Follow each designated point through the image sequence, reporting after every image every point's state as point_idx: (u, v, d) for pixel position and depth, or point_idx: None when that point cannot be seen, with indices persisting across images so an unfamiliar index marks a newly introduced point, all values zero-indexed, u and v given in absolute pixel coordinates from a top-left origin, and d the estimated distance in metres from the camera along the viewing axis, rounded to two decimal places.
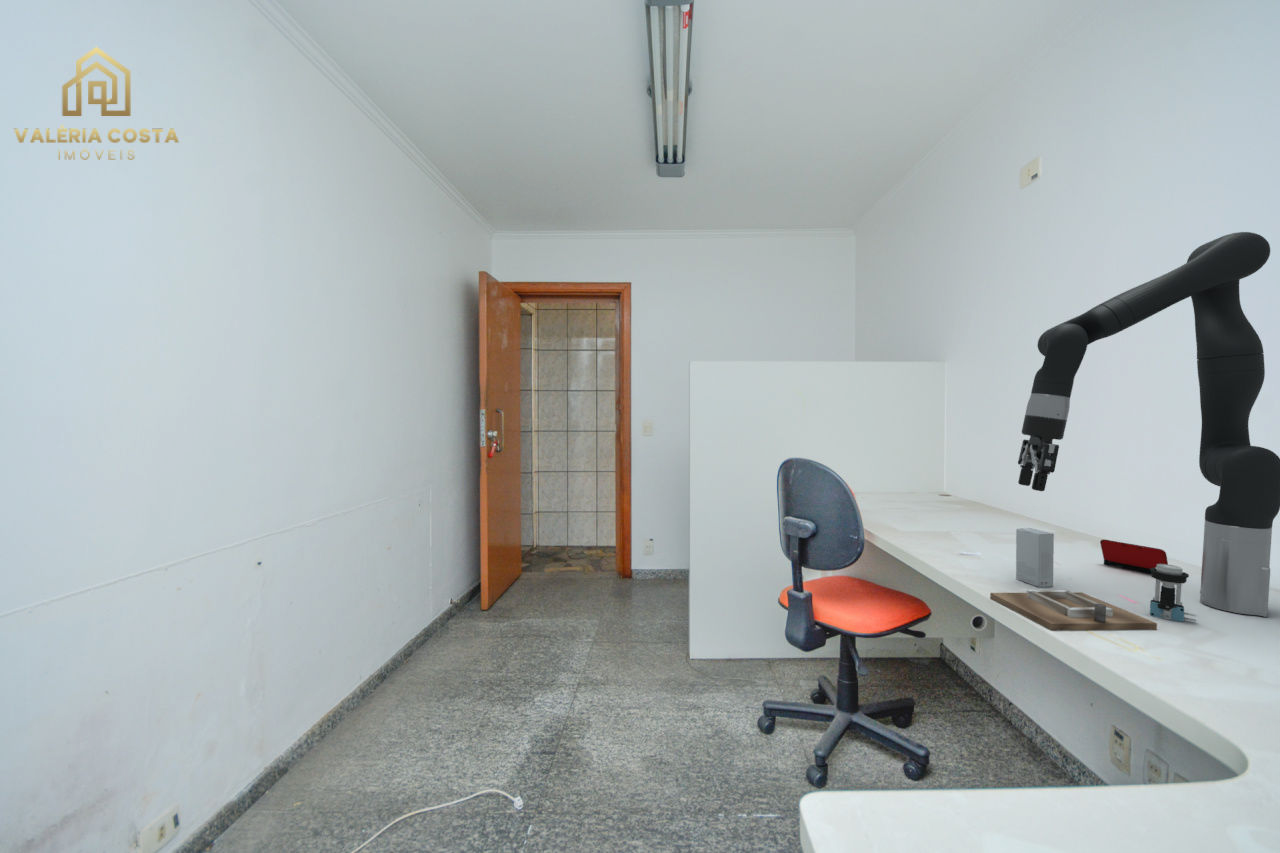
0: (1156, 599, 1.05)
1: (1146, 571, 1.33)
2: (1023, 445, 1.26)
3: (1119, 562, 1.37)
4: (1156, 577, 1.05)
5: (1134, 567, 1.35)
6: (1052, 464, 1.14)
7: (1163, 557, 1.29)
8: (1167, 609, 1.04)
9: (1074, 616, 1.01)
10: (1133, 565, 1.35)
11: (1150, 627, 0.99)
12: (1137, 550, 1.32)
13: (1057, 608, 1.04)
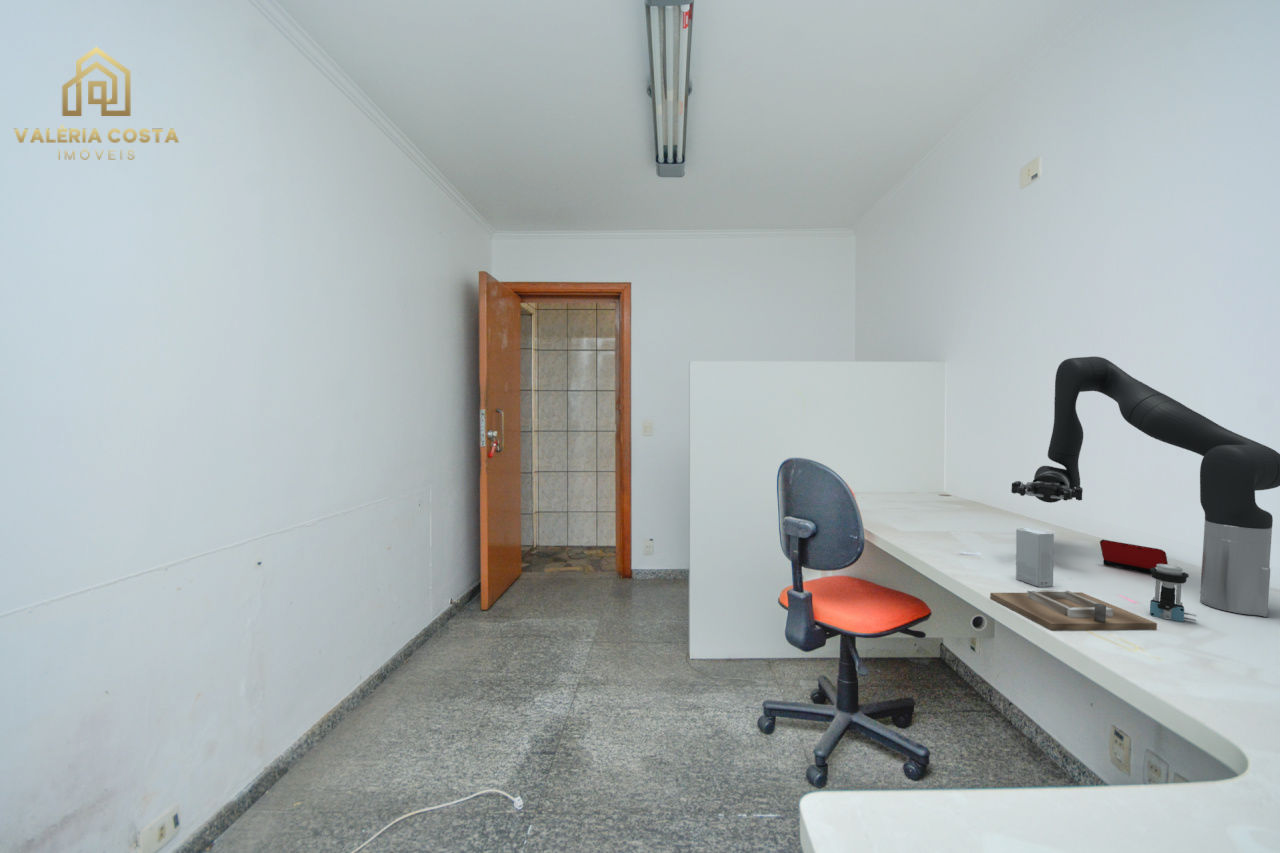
0: (1156, 599, 1.05)
1: (1146, 571, 1.33)
2: None
3: (1119, 562, 1.37)
4: (1156, 577, 1.05)
5: (1134, 567, 1.35)
6: None
7: (1163, 557, 1.29)
8: (1167, 609, 1.04)
9: (1074, 616, 1.01)
10: (1133, 565, 1.35)
11: (1150, 627, 0.99)
12: (1137, 550, 1.32)
13: (1057, 608, 1.04)
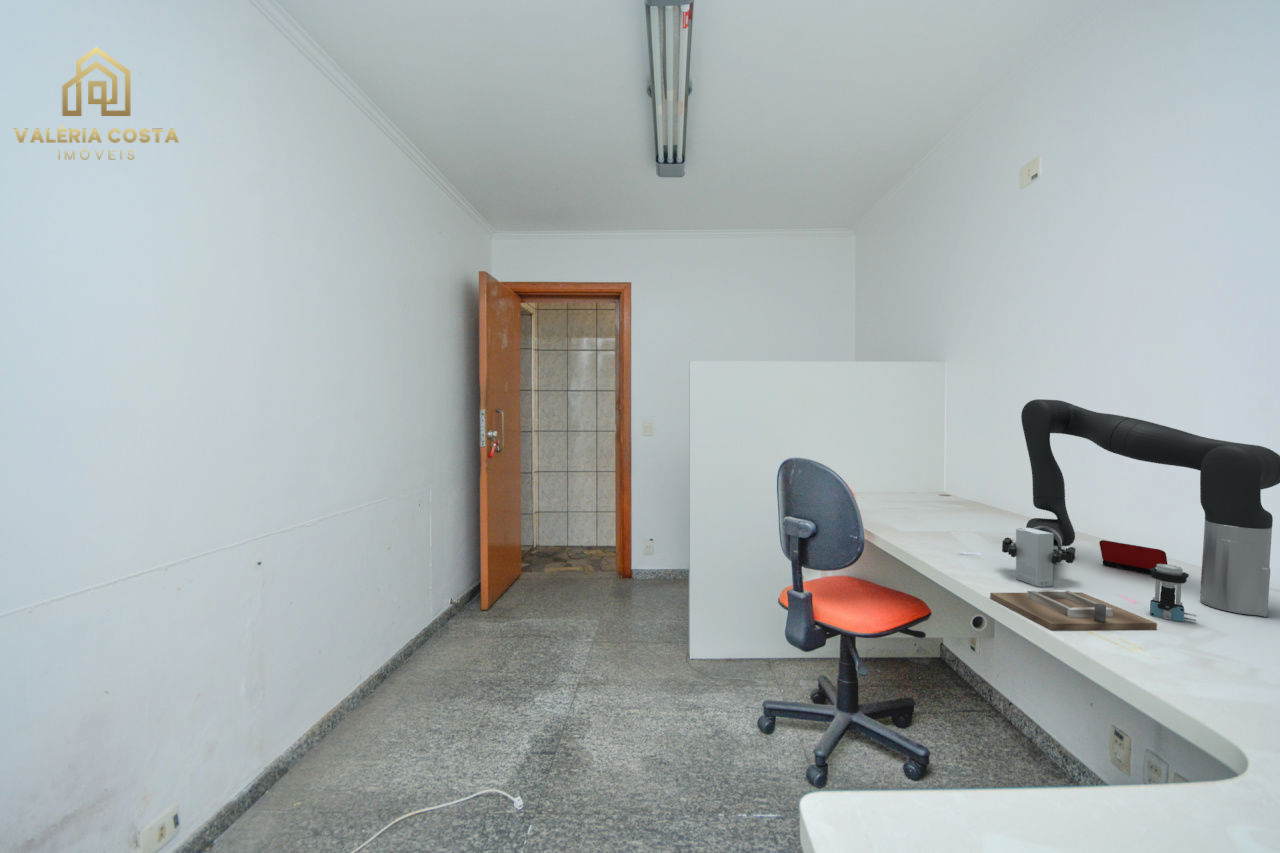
0: (1156, 599, 1.05)
1: (1145, 572, 1.33)
2: None
3: (1118, 563, 1.37)
4: (1156, 577, 1.05)
5: (1133, 568, 1.35)
6: None
7: (1163, 557, 1.28)
8: (1167, 609, 1.04)
9: (1074, 616, 1.01)
10: (1132, 566, 1.35)
11: (1150, 627, 0.99)
12: (1137, 551, 1.32)
13: (1057, 608, 1.04)
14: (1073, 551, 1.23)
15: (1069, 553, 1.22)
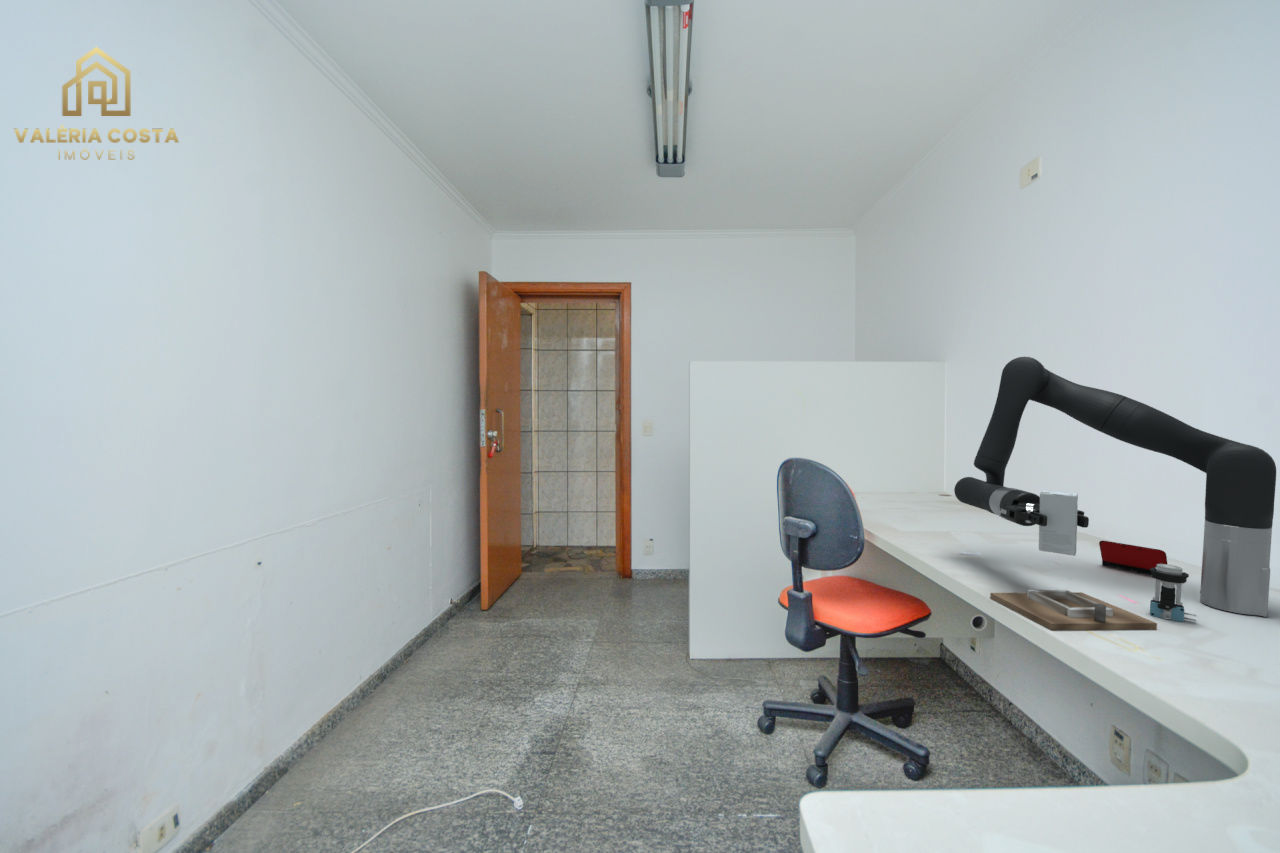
0: (1156, 599, 1.05)
1: (1145, 572, 1.33)
2: None
3: (1118, 563, 1.37)
4: (1156, 577, 1.05)
5: (1133, 568, 1.34)
6: (1013, 510, 1.14)
7: (1163, 557, 1.28)
8: (1167, 609, 1.04)
9: (1074, 616, 1.01)
10: (1132, 566, 1.34)
11: (1150, 627, 0.99)
12: (1137, 551, 1.32)
13: (1057, 608, 1.04)
14: None
15: (1082, 513, 1.11)
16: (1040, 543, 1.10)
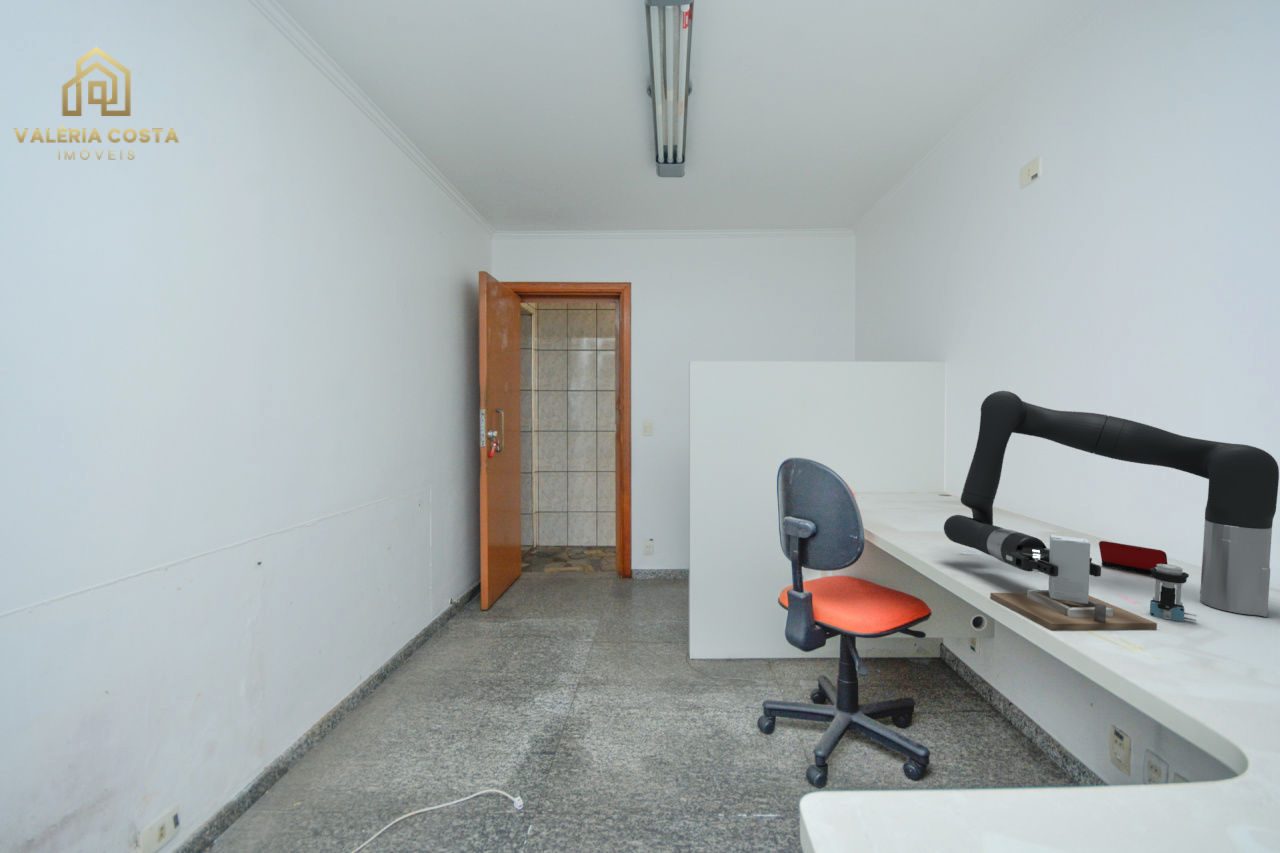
0: (1156, 599, 1.05)
1: (1145, 572, 1.32)
2: None
3: (1117, 563, 1.36)
4: (1156, 577, 1.05)
5: (1133, 568, 1.34)
6: None
7: (1164, 558, 1.28)
8: (1167, 609, 1.04)
9: (1074, 616, 1.01)
10: (1132, 566, 1.34)
11: (1150, 627, 0.99)
12: (1137, 551, 1.31)
13: (1057, 608, 1.04)
14: None
15: (1090, 560, 1.09)
16: (1052, 591, 1.06)
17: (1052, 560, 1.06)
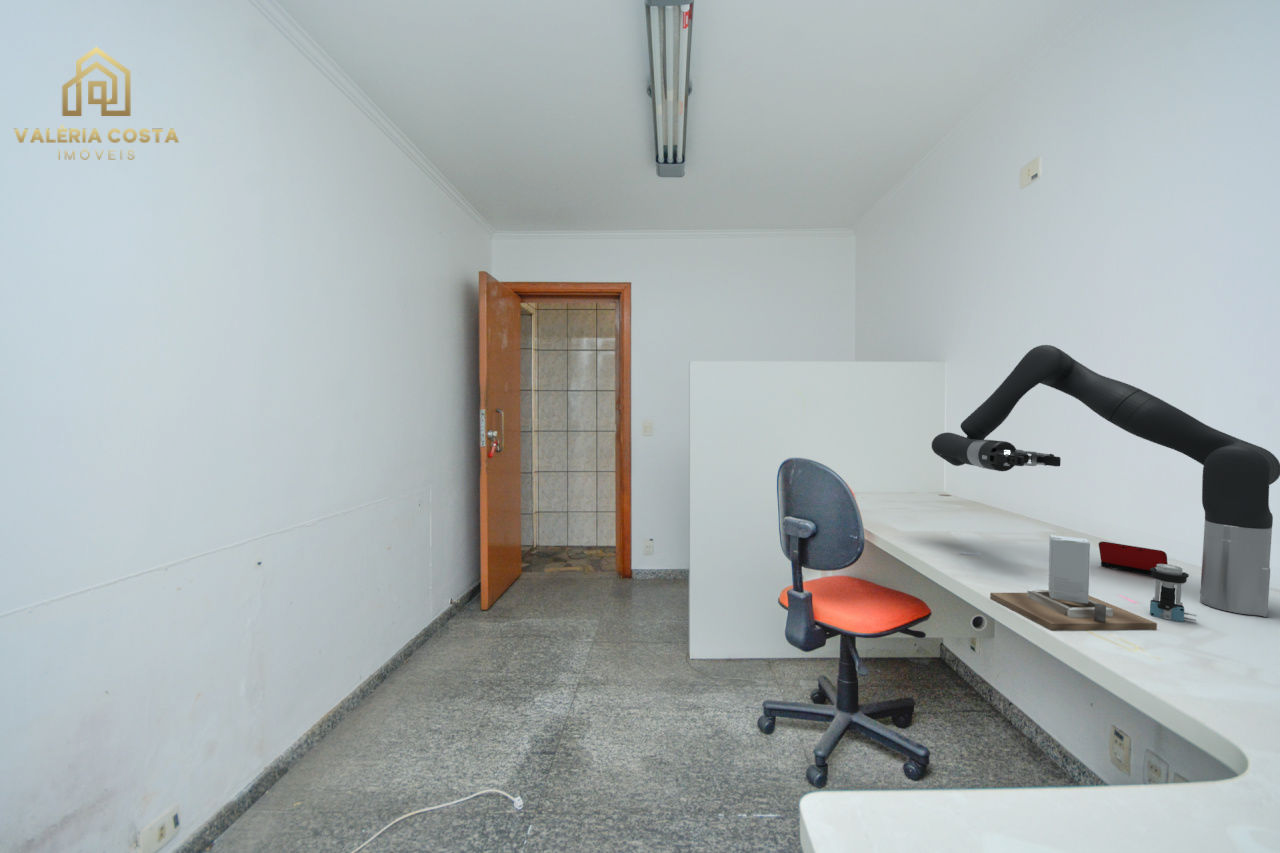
0: (1156, 599, 1.05)
1: (1145, 572, 1.32)
2: None
3: (1117, 564, 1.36)
4: (1156, 577, 1.05)
5: (1132, 569, 1.34)
6: None
7: (1164, 558, 1.27)
8: (1167, 609, 1.04)
9: (1074, 616, 1.01)
10: (1131, 567, 1.34)
11: (1150, 627, 0.99)
12: (1137, 552, 1.31)
13: (1057, 608, 1.04)
14: None
15: (1053, 455, 1.28)
16: (1052, 591, 1.06)
17: (1052, 560, 1.06)
